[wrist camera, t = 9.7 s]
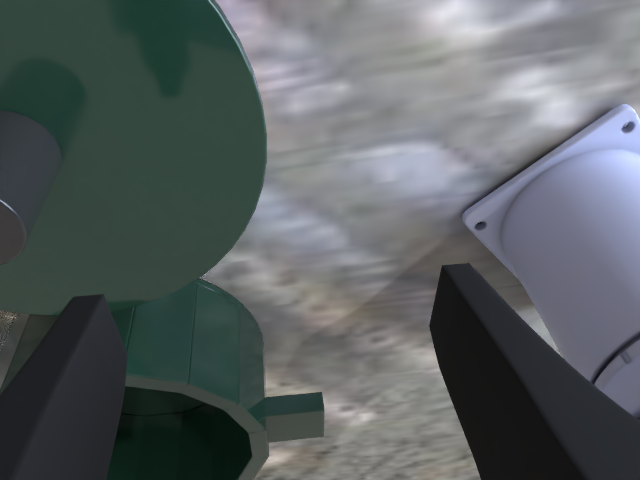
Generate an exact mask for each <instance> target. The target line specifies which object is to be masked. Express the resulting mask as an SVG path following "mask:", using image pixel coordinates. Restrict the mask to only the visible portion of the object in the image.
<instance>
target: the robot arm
mask: <svg viewBox="0 0 640 480" xmlns="http://www.w3.org/2000/svg"><path fill="white" fill-rule="evenodd" d="M628 122H629V123H628ZM626 123H628V125H627V126H626V127H624V128H622V127H623V126H624V125H625V124H626ZM462 220H463V222H464V224H465V226H466V227H467V228H468V229H469V230H470V231H471V232H472V233H473V234H474V235H475V236H476V237H477V238H478V239H479V240H480V241H481V242H482V243H483V244H484V245H485V246H486V247H487V248H488V249H489V250H490V251H491V252H492V253H493V254H494V255H495V256H496V257H497V258H498V259H499V260H500V261H501V262H502V263H503V264H504V265H505V267H506V268H507V269H508V270H509V271H510V272H511V273H512V274H513V275H514V276H515V277H516V278H517V279H518V280H519V281H520V282H521V283H522V284H523V286H524V288H525V290H526V292H527V293H528V295H529V297H530V299H531V301H532V302H533V304H534V306H535V308H536V310H537V311H538V313H539V315H540V317H541V319H542V320H543V322H544V324H545V326H546V328H547V329H548V331H549V333H550V335H551V337H552V338H553V340H554V342H555V344H556V346H557V347H558V349H559V351H560V353H561V355H562V357H563V358H564V359H563V358H562V357H561V356H560V355H559V354H558V353H557V352H556V351H555V350H554V349H553V348H551V347H550V346H549V345H548V344H547V343H546V342H545V341H544V340H543V339H542V338H541V337H540V336H539V335H538V334H537V333H536V332H535V331H534V330H533V329H532V328H531V327H530V326H529V325H528V324H527V323H526V322H525V321H524V320H523V319H522V318H521V317H520V316H519V315H518V314H517V313H516V312H515V311H514V310H513V309H512V308H511V307H510V306H509V305H508V304H507V303H506V302H505V301H504V300H503V299H502V297H501V296H500V295H499V294H498V293H497V292H496V291H495V290H494V289H493V288H492V287H491V286H490V285H489V284H488V283H487V281H486V280H485V279H484V278H483V277H482V276H481V275H480V274H479V273H478V272H477V271H476V270H475V269H474V268H473V267H472V266H471V265H470V264H469V263H465V264H454V265H442V268H441V272H440V277H439V282H438V287H437V291H436V296H435V301H434V306H433V310H432V315H431V320H430V325H429V327H430V331H431V336H432V340H433V344H434V348H435V352H436V356H437V360H438V364H439V368H440V370H441V373H442V376H443V379H444V381H445V384H446V387H447V389H448V392H449V395H450V397H451V400H452V402H453V405H454V408H455V410H456V413H457V415H458V418H459V421H460V423H461V426H462V428H463V431H464V434H465V436H466V439H467V441H468V444H469V447H470V449H471V452H472V454H473V457H474V460H475V463H476V466H477V469H478V471H479V474H480V477H481V480H640V119H639V117H638V115H637V114H636V112H635V110H634V109H632V108H631V107H630V106H629V105H625V104H623V105H619V106H617V107H615V108H614V109H612V110H611V111H609V112H608V113H606V114H605V115H603V116H602V117H601V118H599V119H598V120H596V121H595V122H593V123H592V124H590V125H589V126H587V127H586V128H585V129H583V130H582V131H580V132H579V133H577V134H576V135H574V136H573V137H572V138H570V139H569V140H567V141H566V142H564V143H563V144H561V145H560V146H558V147H557V148H556V149H554V150H553V151H551V152H550V153H548V154H547V155H545V156H544V157H542V158H541V159H540V160H538V161H537V162H535V163H534V164H532V165H531V166H529V167H528V168H527V169H525V170H524V171H522V172H521V173H519V174H518V175H516V176H515V177H513V178H512V179H511V180H509V181H508V182H506V183H505V184H503V185H502V186H500V187H499V188H497V189H496V190H495V191H493V192H492V193H490V194H489V195H487V196H486V197H484V198H483V199H481V200H480V201H479V202H477V203H476V204H474V205H473V206H471V207H470V208H468V209H467V210H466V211H465V212H464V213H463V215H462ZM479 222H482V223H481V224H479V225H476V224H477V223H479ZM127 357H128V354H127V351H126V349H125V346H124V344H123V341H122V339H121V336H120V334H119V331H118V329H117V326H116V324H115V321H114V319H113V316H112V314H111V311H110V309H109V306H108V304H107V301H106V299H105V296H104V294H99V295H87V296H76V297H73V298H72V299H71V300H70V301H69V302H68V304H67V305H66V307H65V308H64V309H63V311H62V312H61V314H60V315H59V316H58V318H57V319H56V321H55V322H54V323H53V325H52V326H51V328H50V329H49V330H48V332H47V333H46V335H45V336H44V337H43V339H42V340H41V342H40V343H39V344H38V346H37V347H36V348H35V350H34V351H33V353H32V354H31V355H30V357H29V358H28V359H27V361H26V362H25V363H24V365H23V366H22V367H21V368H20V370H19V371H18V372H17V374H16V375H15V376H14V378H13V379H12V380H11V382H10V383H9V384H8V385H7V387H6V388H5V389H4V391H3V392H2V393H1V394H0V480H106V479H107V474H108V470H109V465H110V461H111V456H112V452H113V447H114V443H115V438H116V434H117V429H118V424H119V420H120V415H121V410H122V405H123V400H124V391H125V381H126V369H127Z"/></svg>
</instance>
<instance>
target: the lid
mask: <svg viewBox="0 0 640 480" xmlns="http://www.w3.org/2000/svg"><path fill="white" fill-rule="evenodd" d="M266 163H267V133H266V124H265V117H264V110H263V104H262V99H261V95H260V92H259V88H258V85H257V82H256V78H255V75H254V71H253V69H252V67H251V64H250V62H249V60H248V58H247V55H246V53H245V51H244V49H243V46H242V44H241V42H240V39H239V38H238V36H237V34H236V33H235V31H234V29H233V28H232V26H231V24H230V23H229V21H228V20H227V18H226V16H225V15H224V13H223V11H222V10H221V8H220V6H219V5H218V4H217V3H216V1H215V0H0V311H6V312H14V313H23V314H31V315H50V316H59V315H60V314H61V312H62V311H63V309H64V308H65V307H66V305H67V304H68V302H69V301H70V300H71V299H72V298H73V297H76V296H87V295H99V294H104V296H105V299H106V301H107V304H108V306H109V309H110V311H111V312H113V311H118V310H122V309H127V308H131V307H136V306H139V305H142V304H145V303H148V302H151V301H154V300H157V299H160V298H162V297H164V296H167V295H169V294H171V293H173V292H175V291H178V290H180V289H181V288H183V287H185V286H186V285H188V284H190V283H191V282H193V281H195V280H196V279H198V278H200V277H201V276H202V275H203V274H205V273H206V272H207V271H208V270H210V269H211V268H212V267H214V266H215V265H216V264H217V263H218V262H219V261H220V260H221V259H222V258H223V257H224V256H225V255H226V254H227V253H228V252H229V251H230V250H231V249H232V247H233V246H234V244H235V243H236V242H237V240H238V239H239V237H240V236H241V235H242V233H243V232H244V231H245V229H246V227H247V225H248V223H249V221H250V219H251V217H252V215H253V213H254V211H255V209H256V206H257V203H258V200H259V197H260V194H261V191H262V187H263V182H264V175H265V169H266Z"/></svg>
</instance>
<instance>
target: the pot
mask: <svg viewBox="0 0 640 480" xmlns="http://www.w3.org/2000/svg"><path fill="white" fill-rule="evenodd" d="M111 314H112V316H113V319H114V321H115V324H116V326H117V329H118V331H119V334H120V336H121V339H122V341H123V344H124V346H125V349H126V351H127V354H128V357H127V369H126V381H125V391H124V400H123V405H122V410H121V415H120V420H119V424H118V429H117V434H116V438H115V443H114V447H113V452H112V456H111V461H110V465H109V470H108V474H107V479H106V480H253V479H254V478H255V476H256V475H257V473H258V472H259V470H260V469H261V467H262V466H263V464H264V463H265V462H266V460H267V459H268V457H269V442H277V441H287V440H296V439H306V438H316V437H323V436H324V404H323V396H322V392H317V393H307V394H297V395H286V396H276V397H267V393H266V369H265V355H264V342H263V336H262V333H261V330H260V328H259V326H258V323H257V322H256V320H255V319H254V317H253V316H252V314H251V313H250V312H249V311H248V310H247V309H246V308H245V306H244V305H243V304H242V303H240V302H239V301H238V300H237V299H235V298H234V297H233V296H232V295H230V294H228V293H227V292H225V291H224V290H222V289H220V288H219V287H217V286H214V285H212V284H210V283H208V282H206V281H204V280H201V279H196V280H195V281H193V282H191V283H190V284H188V285H186V286H185V287H183V288H181V289H180V290H178V291H175V292H173V293H171V294H169V295H167V296H164V297H162V298H160V299H157V300H154V301H151V302H148V303H145V304H142V305H139V306H136V307H131V308H127V309H122V310H118V311H113V312H111ZM57 318H58V316H50V315H31V314H23V313H19V316H18V317H17V318H16V320H15V321H14V322H13V323H12V325H11V327H10V329H9V332H8V334H7V337H6V339H5V341H4V344H3V346H2V349H1V351H0V394H1V393H2V392H3V391H4V389H5V388H6V387H7V385H8V384H9V383H10V382H11V380H12V379H13V378H14V376H15V375H16V374H17V372H18V371H19V370H20V368H21V367H22V366H23V365H24V363H25V362H26V361H27V359H28V358H29V357H30V355H31V354H32V353H33V351H34V350H35V348H36V347H37V346H38V344H39V343H40V342H41V340H42V339H43V337H44V336H45V335H46V333H47V332H48V330H49V329H50V328H51V326H52V325H53V323H54V322H55V321H56V319H57Z"/></svg>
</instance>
